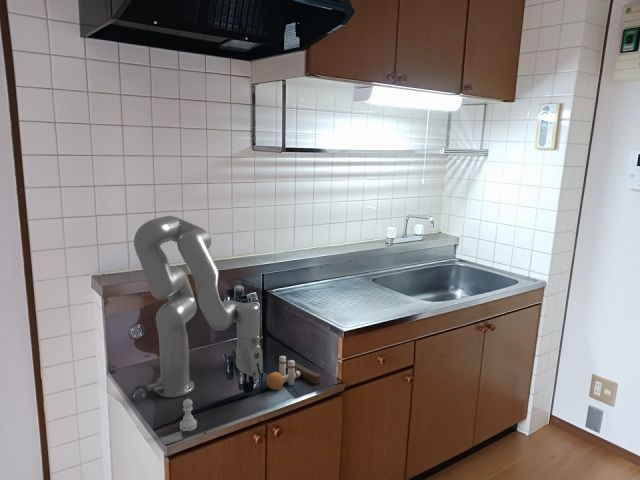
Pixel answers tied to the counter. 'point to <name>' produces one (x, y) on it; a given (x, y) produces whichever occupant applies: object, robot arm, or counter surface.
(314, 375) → the back rail
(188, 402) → the chess pawn
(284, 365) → the pin
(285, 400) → the counter surface
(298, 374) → the front pin
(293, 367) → the pin
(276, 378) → the ball
